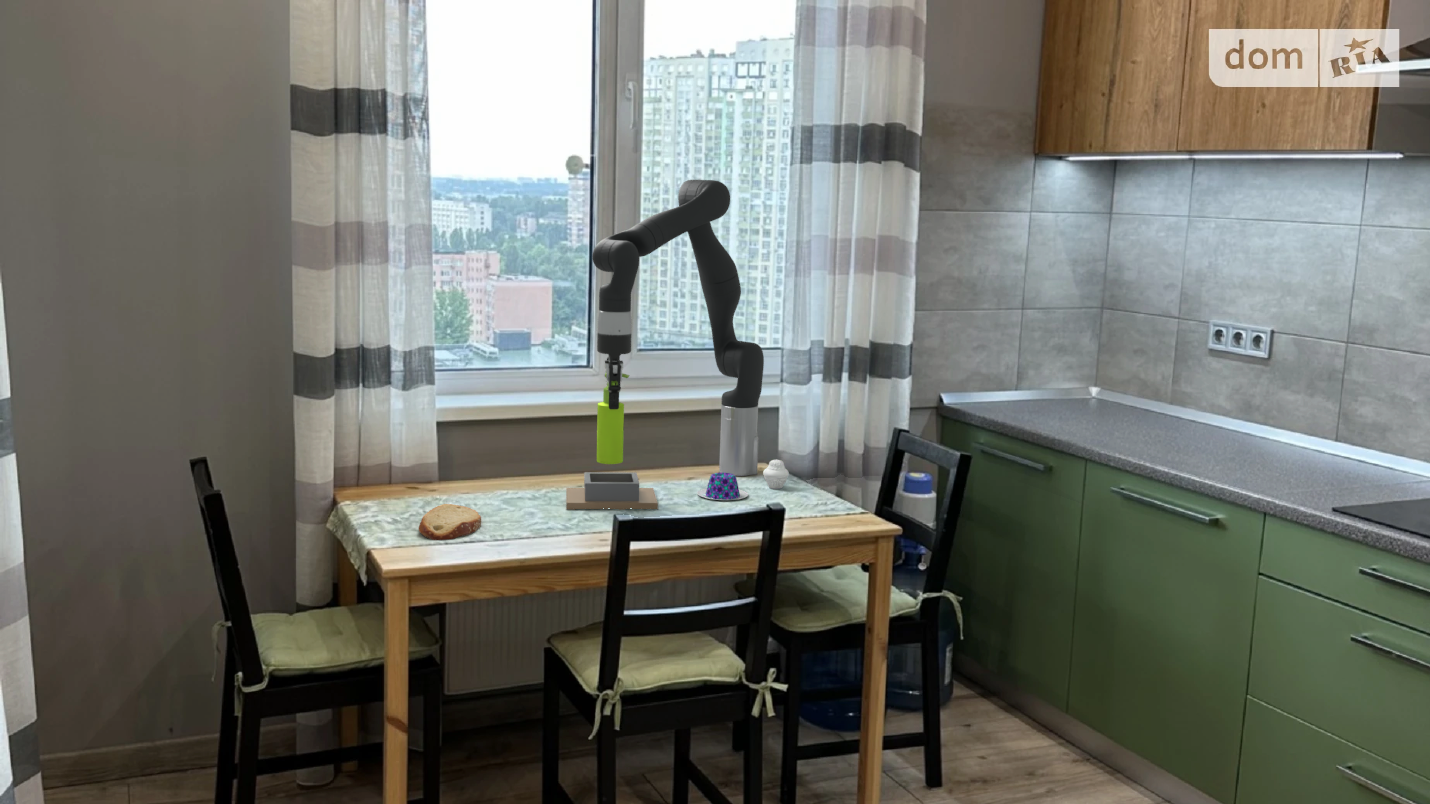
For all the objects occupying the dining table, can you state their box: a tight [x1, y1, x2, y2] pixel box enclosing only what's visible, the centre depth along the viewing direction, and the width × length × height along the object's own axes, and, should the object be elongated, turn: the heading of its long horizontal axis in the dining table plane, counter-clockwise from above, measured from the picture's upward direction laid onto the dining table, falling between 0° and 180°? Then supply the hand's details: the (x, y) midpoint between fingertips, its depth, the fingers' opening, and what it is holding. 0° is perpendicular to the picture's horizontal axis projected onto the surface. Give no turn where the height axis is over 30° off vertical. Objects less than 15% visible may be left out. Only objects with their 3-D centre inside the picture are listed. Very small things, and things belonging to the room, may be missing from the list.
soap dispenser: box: [596, 372, 630, 465], centre depth 275 cm, size 6×7×20 cm
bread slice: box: [418, 503, 482, 541], centre depth 254 cm, size 18×18×4 cm
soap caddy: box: [565, 471, 659, 510], centre depth 277 cm, size 20×14×6 cm
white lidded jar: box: [762, 458, 790, 490], centre depth 296 cm, size 6×6×7 cm
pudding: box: [696, 472, 749, 501], centre depth 287 cm, size 12×12×5 cm
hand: (613, 406), depth 274 cm, fingers closed on soap dispenser, 6 cm apart
